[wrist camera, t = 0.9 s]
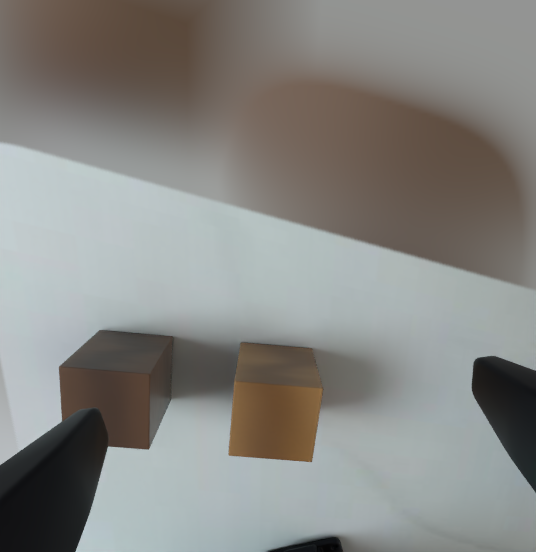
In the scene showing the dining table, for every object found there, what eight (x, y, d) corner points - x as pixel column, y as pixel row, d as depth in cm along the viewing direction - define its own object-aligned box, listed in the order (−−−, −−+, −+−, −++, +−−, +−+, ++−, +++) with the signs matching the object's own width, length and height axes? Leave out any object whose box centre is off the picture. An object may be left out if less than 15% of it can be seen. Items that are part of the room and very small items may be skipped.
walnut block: (172, 336, 24) (150, 374, 20) (171, 399, 26) (149, 450, 21) (99, 329, 24) (58, 366, 20) (101, 393, 26) (62, 443, 21)
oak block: (312, 348, 25) (323, 388, 20) (303, 410, 26) (312, 462, 21) (240, 341, 25) (234, 381, 20) (235, 404, 26) (228, 456, 21)
